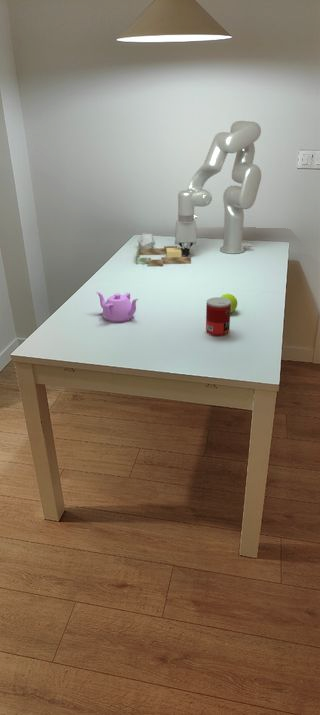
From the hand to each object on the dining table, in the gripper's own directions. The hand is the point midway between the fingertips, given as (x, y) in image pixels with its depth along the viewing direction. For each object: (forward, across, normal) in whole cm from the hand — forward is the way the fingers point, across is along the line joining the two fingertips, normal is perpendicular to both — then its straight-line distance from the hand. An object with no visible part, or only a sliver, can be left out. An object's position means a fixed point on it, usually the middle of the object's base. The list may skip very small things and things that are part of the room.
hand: (185, 256), depth 250 cm
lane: (+1, +11, 0) cm, 11 cm away
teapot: (+2, +27, +72) cm, 77 cm away
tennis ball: (+2, -13, +69) cm, 70 cm away
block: (+1, +6, -1) cm, 6 cm away
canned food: (+2, -8, +86) cm, 86 cm away
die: (+2, +20, -18) cm, 27 cm away
